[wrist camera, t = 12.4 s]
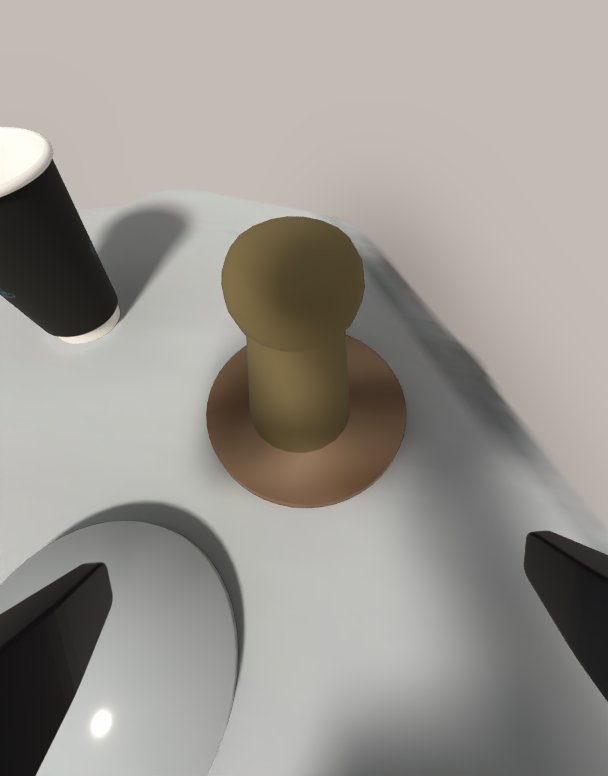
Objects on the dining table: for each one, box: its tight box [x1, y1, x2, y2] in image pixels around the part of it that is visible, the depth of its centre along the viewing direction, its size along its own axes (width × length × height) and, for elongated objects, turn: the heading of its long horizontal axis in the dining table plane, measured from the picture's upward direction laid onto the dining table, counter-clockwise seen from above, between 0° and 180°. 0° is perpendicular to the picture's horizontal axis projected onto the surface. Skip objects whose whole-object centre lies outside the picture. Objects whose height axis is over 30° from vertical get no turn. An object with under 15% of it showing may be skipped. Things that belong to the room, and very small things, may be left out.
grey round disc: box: [0, 521, 238, 776], centre depth 14 cm, size 12×12×1 cm
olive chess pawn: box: [221, 216, 365, 453], centre depth 16 cm, size 6×6×11 cm
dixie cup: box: [0, 127, 120, 344], centre depth 21 cm, size 8×8×11 cm
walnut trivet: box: [206, 335, 406, 508], centre depth 21 cm, size 12×12×1 cm
